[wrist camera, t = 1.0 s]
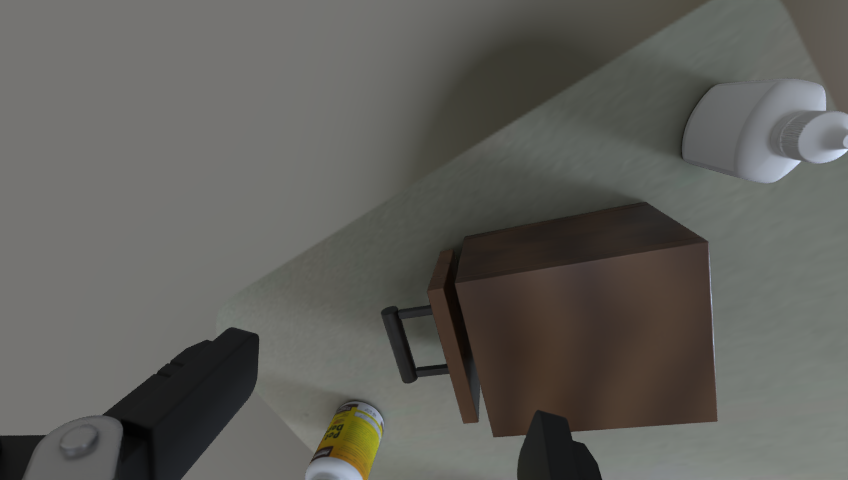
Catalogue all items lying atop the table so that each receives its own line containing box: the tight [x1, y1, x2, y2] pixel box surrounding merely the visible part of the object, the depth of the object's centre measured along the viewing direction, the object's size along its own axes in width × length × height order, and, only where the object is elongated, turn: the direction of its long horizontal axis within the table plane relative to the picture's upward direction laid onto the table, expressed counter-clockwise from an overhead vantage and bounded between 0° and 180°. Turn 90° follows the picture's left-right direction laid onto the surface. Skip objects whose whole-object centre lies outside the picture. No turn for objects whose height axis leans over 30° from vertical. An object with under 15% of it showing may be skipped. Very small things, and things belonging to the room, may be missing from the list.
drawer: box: [381, 249, 480, 424], centre depth 31 cm, size 18×11×8 cm, turn 104°
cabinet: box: [455, 202, 718, 437], centre depth 30 cm, size 15×13×10 cm
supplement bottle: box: [305, 401, 384, 480], centre depth 38 cm, size 6×6×10 cm
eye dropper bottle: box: [682, 78, 848, 183], centre depth 23 cm, size 4×6×12 cm
